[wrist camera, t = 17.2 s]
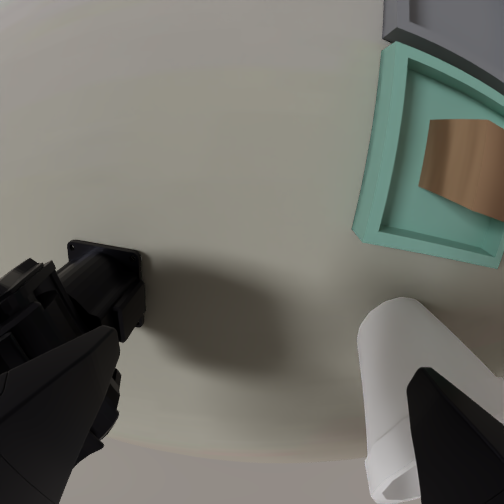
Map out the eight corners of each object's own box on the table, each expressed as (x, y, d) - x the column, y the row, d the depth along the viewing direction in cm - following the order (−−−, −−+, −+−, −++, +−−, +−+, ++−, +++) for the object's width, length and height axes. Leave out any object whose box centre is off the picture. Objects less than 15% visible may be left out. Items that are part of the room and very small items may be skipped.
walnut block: (418, 186, 16) (471, 210, 11) (429, 119, 14) (487, 119, 9) (466, 201, 16) (521, 229, 11) (478, 141, 14) (537, 151, 9)
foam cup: (381, 259, 19) (480, 403, 7) (460, 300, 20) (543, 408, 8) (316, 357, 22) (335, 507, 10) (398, 380, 23) (438, 496, 11)
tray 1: (382, 38, 13) (396, 27, 11) (381, -71, 9) (390, -86, 6) (510, 102, 13) (530, 102, 11) (501, -8, 9) (516, -14, 6)
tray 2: (351, 228, 18) (362, 242, 16) (381, 51, 14) (395, 40, 11) (480, 256, 18) (497, 269, 16) (509, 113, 13) (530, 114, 11)
